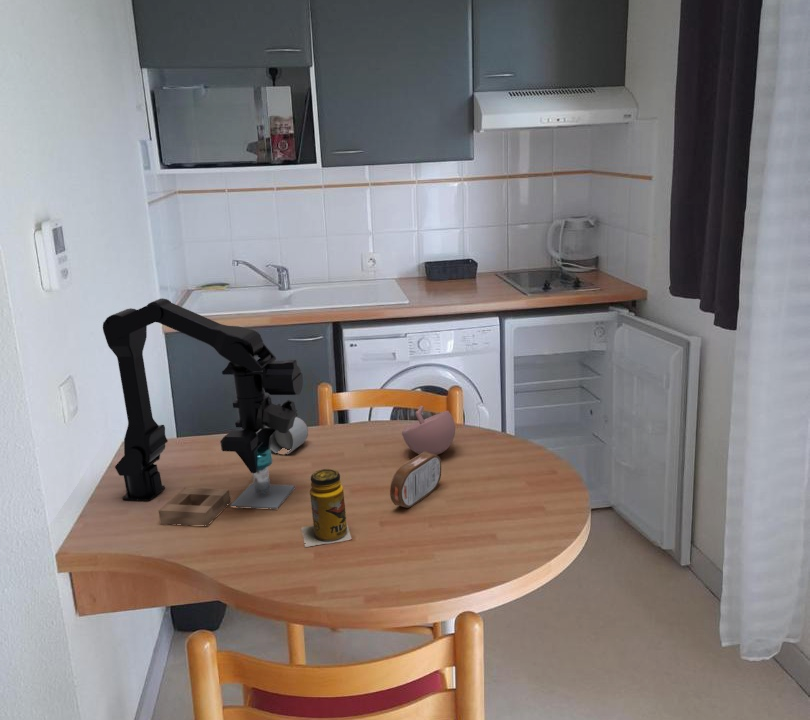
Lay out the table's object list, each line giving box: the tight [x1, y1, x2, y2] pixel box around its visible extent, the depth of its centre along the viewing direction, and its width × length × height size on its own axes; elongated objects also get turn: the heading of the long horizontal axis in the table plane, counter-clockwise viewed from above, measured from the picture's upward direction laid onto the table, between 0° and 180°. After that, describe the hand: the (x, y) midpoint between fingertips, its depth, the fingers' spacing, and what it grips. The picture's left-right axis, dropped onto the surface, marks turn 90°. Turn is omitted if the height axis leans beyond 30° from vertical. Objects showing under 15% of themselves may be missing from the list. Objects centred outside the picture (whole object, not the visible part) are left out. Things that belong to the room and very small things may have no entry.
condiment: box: [300, 468, 353, 548], centre depth 136 cm, size 7×8×12 cm
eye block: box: [158, 487, 232, 527], centre depth 148 cm, size 10×10×3 cm
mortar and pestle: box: [401, 405, 456, 456], centre depth 168 cm, size 12×12×12 cm
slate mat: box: [230, 483, 296, 509], centre depth 154 cm, size 10×10×1 cm
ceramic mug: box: [270, 416, 309, 455], centre depth 178 cm, size 11×8×8 cm
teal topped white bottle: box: [252, 447, 273, 494], centre depth 152 cm, size 5×5×8 cm
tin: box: [389, 452, 442, 509], centre depth 148 cm, size 15×3×8 cm, turn 145°
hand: (259, 467), depth 152 cm, fingers closed on teal topped white bottle, 5 cm apart
